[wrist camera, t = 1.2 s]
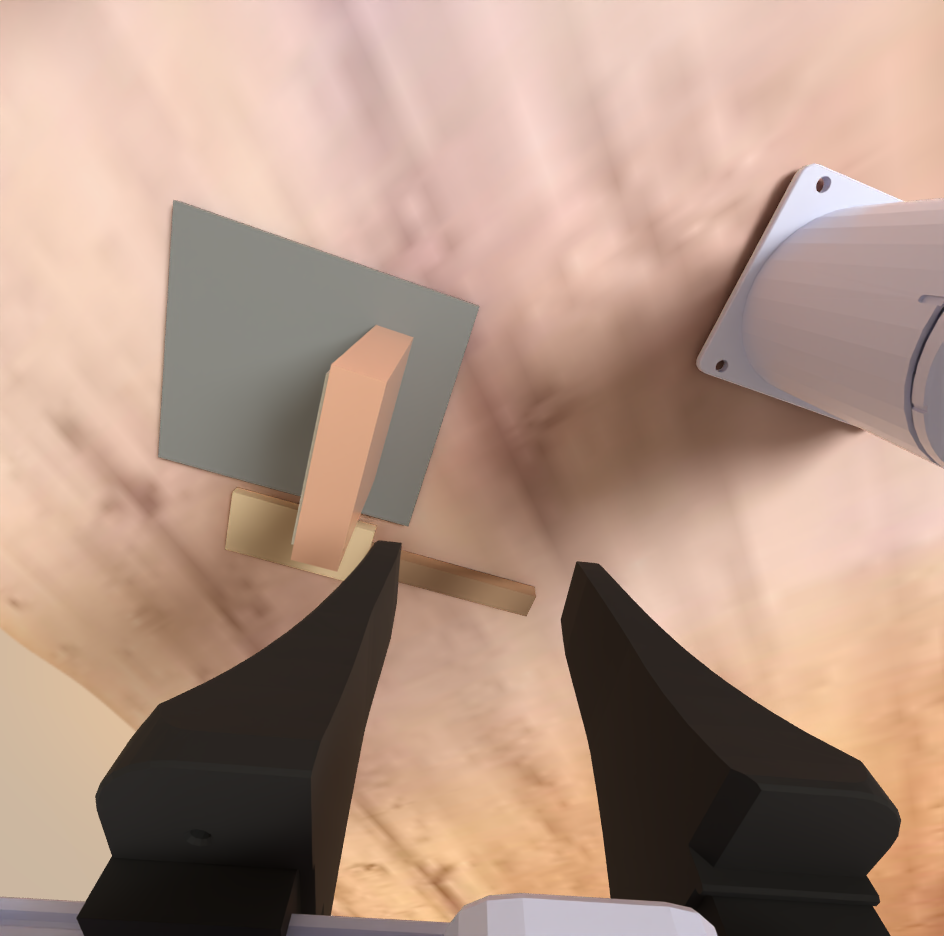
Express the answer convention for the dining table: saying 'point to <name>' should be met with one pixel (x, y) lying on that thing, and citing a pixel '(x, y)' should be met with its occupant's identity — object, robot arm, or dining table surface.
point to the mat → (292, 356)
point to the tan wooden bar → (361, 555)
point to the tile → (348, 444)
